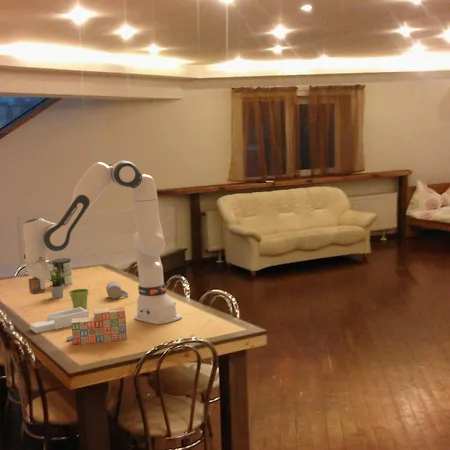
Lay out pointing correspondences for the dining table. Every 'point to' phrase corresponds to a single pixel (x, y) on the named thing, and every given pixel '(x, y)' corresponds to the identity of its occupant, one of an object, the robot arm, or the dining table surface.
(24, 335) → the dining table surface
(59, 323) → the channel
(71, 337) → the steel rod
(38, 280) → the walnut block
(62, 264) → the coffee can
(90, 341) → the stack of blocks
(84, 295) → the plant pot
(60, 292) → the house plant
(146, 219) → the robot arm
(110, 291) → the ceramic mug
